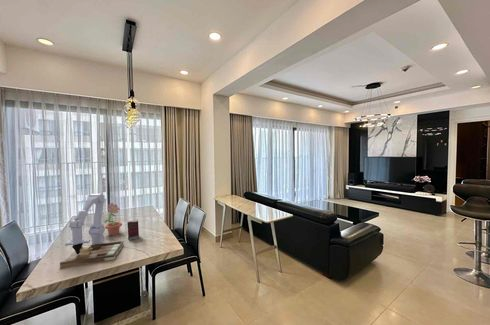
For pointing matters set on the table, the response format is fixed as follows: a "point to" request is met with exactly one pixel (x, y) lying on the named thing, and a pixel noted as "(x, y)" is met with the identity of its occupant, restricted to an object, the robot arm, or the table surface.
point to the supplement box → (133, 229)
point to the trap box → (94, 254)
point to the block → (85, 250)
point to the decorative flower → (114, 226)
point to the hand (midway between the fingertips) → (78, 253)
